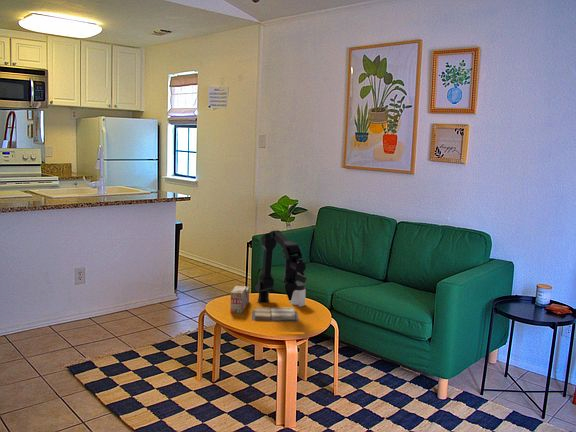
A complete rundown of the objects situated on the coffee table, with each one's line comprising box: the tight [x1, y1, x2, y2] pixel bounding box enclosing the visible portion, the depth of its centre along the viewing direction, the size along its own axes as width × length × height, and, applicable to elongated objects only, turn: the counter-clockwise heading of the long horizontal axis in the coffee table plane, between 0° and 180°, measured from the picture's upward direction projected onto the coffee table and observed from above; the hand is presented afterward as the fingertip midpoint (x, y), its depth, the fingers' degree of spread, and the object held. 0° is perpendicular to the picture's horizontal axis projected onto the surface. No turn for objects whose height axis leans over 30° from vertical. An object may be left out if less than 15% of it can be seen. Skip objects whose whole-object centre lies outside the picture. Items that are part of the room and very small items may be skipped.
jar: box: [289, 281, 307, 308], centre depth 308 cm, size 9×8×12 cm
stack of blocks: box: [229, 285, 250, 314], centre depth 297 cm, size 21×6×12 cm, turn 174°
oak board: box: [254, 306, 271, 320], centre depth 285 cm, size 14×8×2 cm, turn 3°
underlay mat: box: [251, 309, 300, 323], centre depth 285 cm, size 16×24×1 cm, turn 93°
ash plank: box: [270, 306, 295, 320], centre depth 285 cm, size 14×12×2 cm
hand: (289, 297), depth 285 cm, fingers open, 9 cm apart
